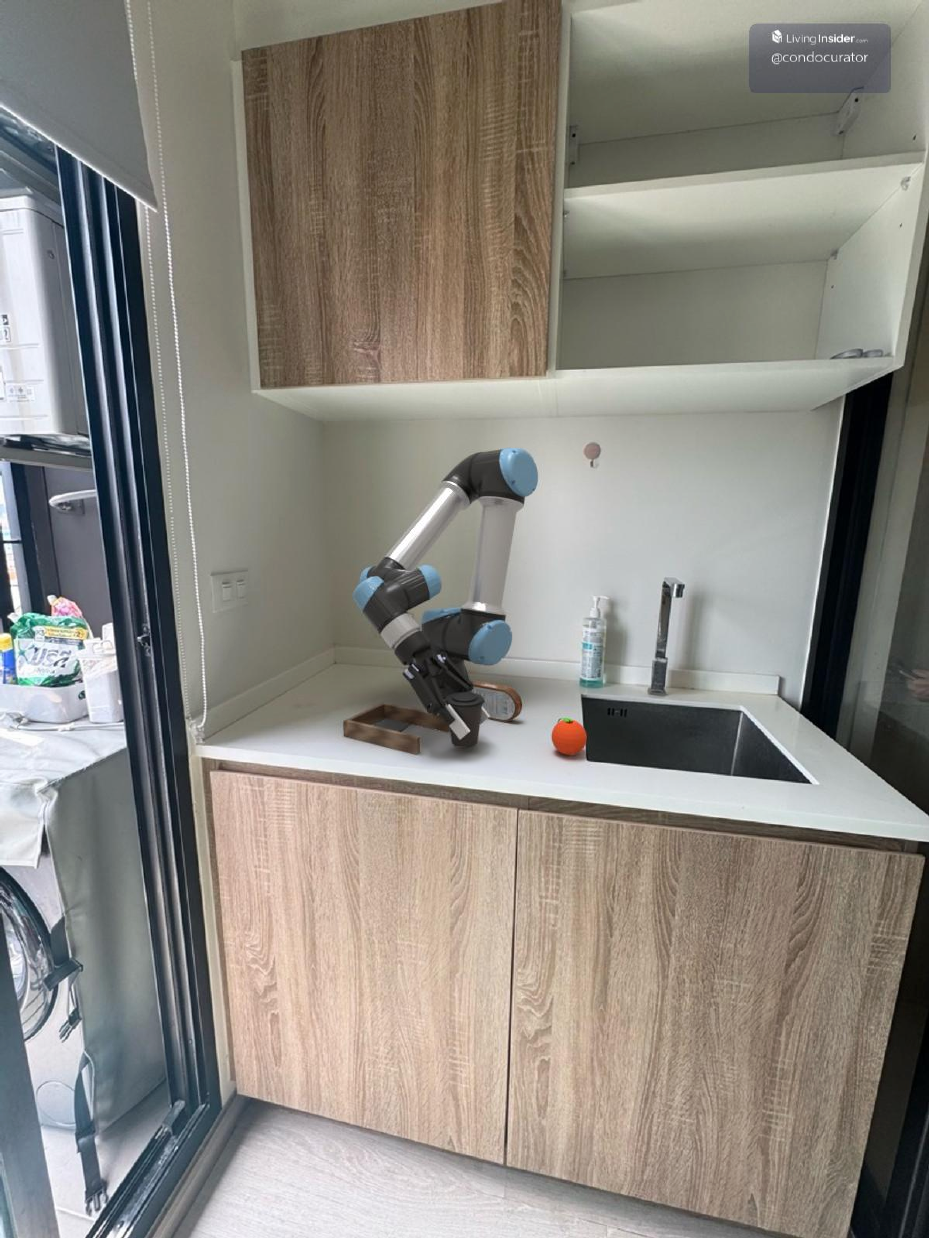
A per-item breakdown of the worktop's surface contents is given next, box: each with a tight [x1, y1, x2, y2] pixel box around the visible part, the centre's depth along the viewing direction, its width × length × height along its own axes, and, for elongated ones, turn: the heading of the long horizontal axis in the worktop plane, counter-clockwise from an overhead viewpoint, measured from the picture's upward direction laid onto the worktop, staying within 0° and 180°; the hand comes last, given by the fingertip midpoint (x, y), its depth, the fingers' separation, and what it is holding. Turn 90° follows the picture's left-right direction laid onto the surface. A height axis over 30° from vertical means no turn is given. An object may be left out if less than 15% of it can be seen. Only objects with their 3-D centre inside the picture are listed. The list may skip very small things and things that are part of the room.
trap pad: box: [372, 718, 412, 732], centre depth 116 cm, size 7×11×1 cm, turn 151°
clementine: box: [551, 717, 588, 756], centre depth 105 cm, size 8×7×7 cm
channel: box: [342, 701, 450, 756], centre depth 114 cm, size 19×14×4 cm
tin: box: [471, 680, 523, 723], centre depth 124 cm, size 15×3×8 cm, turn 59°
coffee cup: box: [444, 691, 485, 749], centre depth 106 cm, size 8×8×10 cm
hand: (475, 727), depth 105 cm, fingers closed on coffee cup, 8 cm apart
